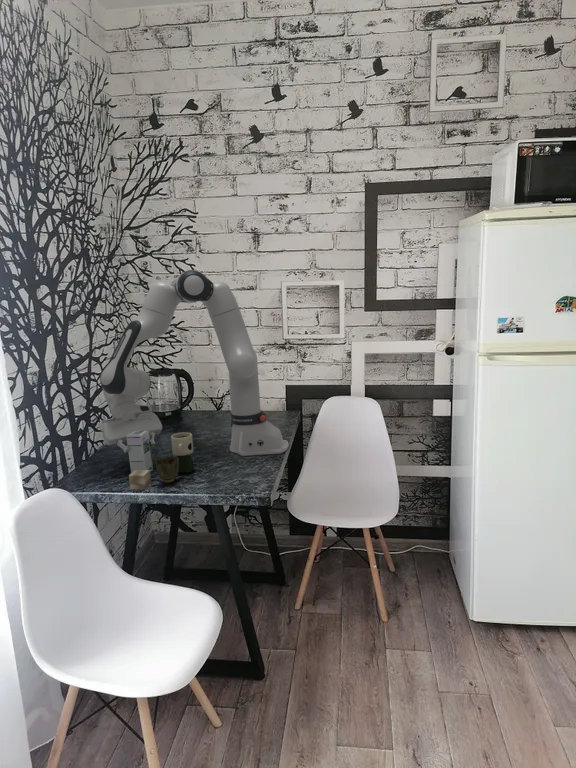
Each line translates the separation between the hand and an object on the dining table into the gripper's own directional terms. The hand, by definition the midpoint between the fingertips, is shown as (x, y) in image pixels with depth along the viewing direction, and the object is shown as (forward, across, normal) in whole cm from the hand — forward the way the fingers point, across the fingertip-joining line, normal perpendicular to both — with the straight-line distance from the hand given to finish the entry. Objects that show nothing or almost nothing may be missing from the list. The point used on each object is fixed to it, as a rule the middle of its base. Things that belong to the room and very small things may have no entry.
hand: (140, 448), depth 190 cm
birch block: (+15, -6, -2) cm, 16 cm away
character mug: (+13, +11, 0) cm, 17 cm away
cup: (+17, +3, -4) cm, 18 cm away
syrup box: (+6, 0, +7) cm, 9 cm away
